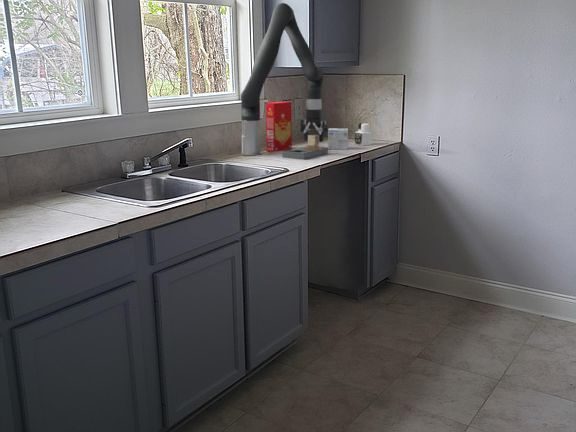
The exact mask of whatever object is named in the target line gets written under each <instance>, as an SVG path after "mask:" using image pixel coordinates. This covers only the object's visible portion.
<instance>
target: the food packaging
mask: <svg viewBox="0 0 576 432" xmlns="http://www.w3.org/2000/svg"><path fill="white" fill-rule="evenodd" d="M292 105H293V104H292V101H274V102H266V103H265V111H266V112H265V123H266V124H265V126H266V127H265V130H266V133H265V134H266V138H265V139H266V141H265V142H266V152H267V153H275V152H281V151H286V150H290V149H293V145H292V144H293V143H292V142H293V140H292V138H293V135H292V133H293V132H292V127H293V126H292V124H293V123H292V122H293V121H292V119H293V118H292V115H293V114H292V112H293V110H292V109H293V108H292Z"/></svg>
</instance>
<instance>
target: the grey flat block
mask: <svg viewBox="0 0 576 432" xmlns="http://www.w3.org/2000/svg"><path fill="white" fill-rule="evenodd" d="M328 154H329V149H328V146H327V147H325V146H324V145H323V146H322V145H319V147H318V148H308V145H305V146H301V147H295V148H292V149H285V150H282V158H284V159H285V158H286V159H294V160H303V161H305V160H308V159H312V158H316V157H320V156H324V155H328Z"/></svg>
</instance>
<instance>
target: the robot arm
mask: <svg viewBox="0 0 576 432" xmlns="http://www.w3.org/2000/svg"><path fill="white" fill-rule="evenodd" d="M269 22H270V23H269V26H268V28H267V31H266V33H265V35H264V37H263V39H262V42H261V44H260V47H259V49H258V52H257V54H256V56H255V59H254V62H253V67H252V70H251V73H250V77H249V80H248V81H247V83H246V84H245V86H244V88H243V90H242V92H241V94H240V101H241V102H240V103H241V104H240V105H241V114H240V115H241V155H242V156H259V155H261V149H262V148H261V98H260V97H261V93H262V90H263V87H264V84H265V82H266V80H267V78H268V76H269V75H270V72H272V71H271V70H273V69H272V68H273V66H274V65H275V62H276V60H277V57H278V54H279V50H280V45H281V40H282V37H283V34H284V31H285V32H286V34H287V37H288V38H289V40H290V44H291V46H292V49H293V52H294V53H295V55H296V57H297V59H298V62H299V63H300V65H301V69H302V72H303V74H304V77H305V78H306V80H307V81H308V87H307V89H306V103H305V104H306V106H305V117H306V119H305V118H304V119H301V120H300V130H299V131H300V132H302V133H303V140H304V141H305V142H308V136H309V131H310V130H316V131H317V132H318V134H319V143H323V142H324V135H325V134H328V120H322V108H323V107H322V88H323V87H322V85H323V81H324V72H323V70H322V68H321V67H320V66H317V65H316V64H315V63H316V62H315V61H314V55H313V53H312V51H311V49H310V47H309V45H308V43H307V41H306V40H305V38H304V36H303V34H302V32H301V30H300V28H299V25H298V22H297V20H296V15H295V13H294V9H293V8H292V7H291V6H290V5H289V4H288V3H285V2H281V3H278V4H277V5H276V6H275V7H274V9H273V10H272V15H271V19H270V21H269Z"/></svg>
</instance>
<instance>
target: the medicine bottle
mask: <svg viewBox="0 0 576 432" xmlns="http://www.w3.org/2000/svg"><path fill="white" fill-rule="evenodd" d="M354 145H357V146H372V145H373V132H372V131H370V123H368V122H360V123H358V130H357V131H355V133H354Z"/></svg>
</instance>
